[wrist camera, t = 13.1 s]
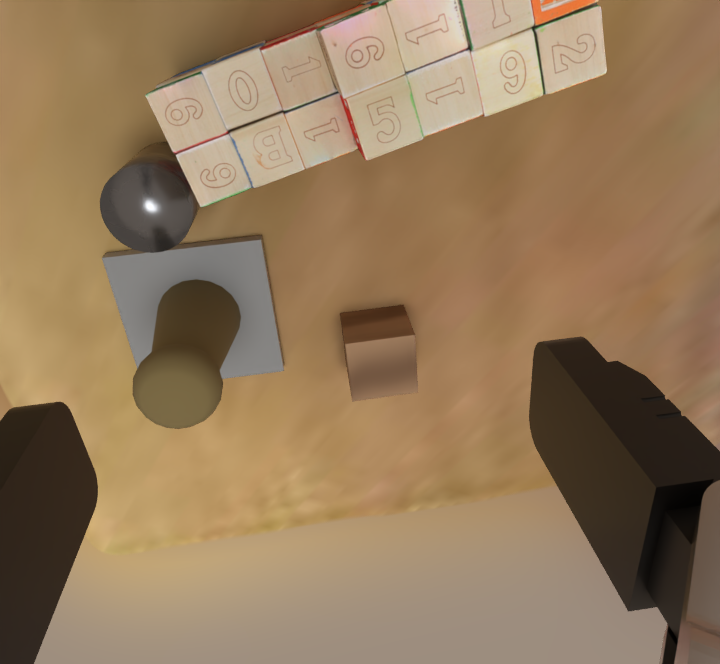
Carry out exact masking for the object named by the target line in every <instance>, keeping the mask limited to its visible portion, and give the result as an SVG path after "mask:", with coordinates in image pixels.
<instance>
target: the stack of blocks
mask: <svg viewBox="0 0 720 664" xmlns="http://www.w3.org/2000/svg"><path fill="white" fill-rule="evenodd" d="M597 2H598V0H367V1H364V2H362V3H360V4H359V5H358V6H357V7H355V8H352V9H349V10H347V11H344V12H342V13H339V14H336V15H334V16H331V17H328V18H326V19H323V20H320V21H318V22H315V23H313V24H312V25H310V26H308V27H305V28H302V29H299V30H297V31H294V32H292V33H289V34H286V35H284V36H281V37H279V38H276V39H273V40H270V41H268V42H267V41H266V40H263V41H261V42H258V43H255V44H253V45H250V46H247V47H245V48H242V49H239V50H237V51H234V52H231V53H229V54H226V55H223V56H221V57H219V58H218V59H216V60H213V61H210V62H208V63H205V64H202V65H200V66H197V67H194V68H192V69H189V70H187V71H184V72H181V73H179V74H177V75H175V76H173V77H171V78H170V79H167V80H165V81H163V82H161V83H160V84H158V85H157V86H156V89H154V90H153V91H151V92H149V93H147V94H146V95H145V96H146V98H147V100H148V102H149V104H150V106H151V108H152V110H153V112H154V115H155V117H156V119H157V121H158V123H159V125H160V127H161V129H162V131H163V133H164V135H165V137H166V139H167V141H168V143H169V145H170V147H171V149H172V151H173V152H174V153H175V155H176V157H177V160H178V162H179V164H180V166H181V168H182V170H183V172H184V174H185V176H186V178H187V180H188V182H189V184H190V186H191V188H192V191H193V193H194V194H195V197H196V199H197V201H198V203H199V205H200V207H205V206H208V205H210V204H213V203H215V202H218V201H221V200H223V199H226V198H228V197H231V196H234V195H237V194H239V193H242V192H244V191H246V190H248V189H250V188H257V187H260V186H263V185H265V184H268V183H271V182H273V181H276V180H279V179H281V178H284V177H286V176H289V175H292V174H294V173H297V172H300V171H302V170H304V169H307V168H311V167H314V166H316V165H319V164H322V163H325V162H327V161H330V160H332V159H335V158H337V157H340V156H342V155H345V154H347V153H350V152H352V151H354V150H356V149H357V148H358V149H359V151H360V152H361V154H362V155H363V157H364V159H365V160H366V161H368V160H370V159H373V158H376V157H378V156H381V155H383V154H386V153H389V152H391V151H394V150H397V149H399V148H402V147H404V146H407V145H410V144H412V143H415V142H418V141H420V140H422V139H423V138H424V137H426V136H428V135H431V134H434V133H437V132H440V131H443V130H445V129H448V128H451V127H453V126H456V125H458V124H461V123H464V122H467V121H469V120H472V119H474V118H477V117H479V116H481V115H482V116H484V117H485V116H489V115H492V114H495V113H497V112H500V111H503V110H506V109H508V108H511V107H514V106H516V105H519V104H522V103H524V102H527V101H530V100H533V99H536V98H538V97H540V96H542V95H543V94H552V93H555V92H557V91H560V90H563V89H566V88H569V87H572V86H574V85H577V84H580V83H583V82H586V81H589V80H591V79H594V78H597V77H600V76H602V75H604V74H606V71H607V67H606V58H605V48H604V37H603V26H602V13H601V6H599V5H597Z"/></svg>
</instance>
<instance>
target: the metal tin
mask: <svg viewBox="0 0 720 664" xmlns="http://www.w3.org/2000/svg"><path fill="white" fill-rule="evenodd" d="M199 208H200V205H199V203H198V201H197V199H196V197H195V194H194V193H193V191H192V188H191V186H190V184H189V182H188V180H187V178H186V176H185V174H184V172H183V170H182V168H181V166H180V164H179V162H178V160H177V157H176V155H175V153H174V152H173V151H172V149H171V147H170V145H169V143H165V142H164V143H155V144H152V145H149V146H147V147H145V148H144V149H142V150H141V151H140V152H139V153H138V154H137V155H136V156H134V157H133V158H132V159H131V160H130V161H129V162H128V163H127V164H126V165H125V166H123V167H122V168H121V169H120V170H119V171H118V172H117V173H116V174H115V175H113V176H112V177H111V178H110V179H109V180H108V182H107V183H106V184H105V186H104V188H103V191H102V193H101V198H100V210H101V214H102V218H103V220H104V223H105V225H106V226H107V228H108V229H109V231H110V232H111V233H112V235H113V236H114V237H115V238H116V239H118V240H119V241H120V242H121V243H123V244H124V245H126V246H128V247H130V248H132V249H134V250H138V251H141V252H148V253H157V252H163V251H166V250H169V249H171V248H173V247H175V246H176V245H178V244H179V243H180V242H181V241H182V240H183V239H184V238H185V236H186V234H187V233H188V231H189V229H190V227H191V224H192V222H193V220H194V218H195V216H196V214H197V212H198V210H199Z"/></svg>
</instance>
